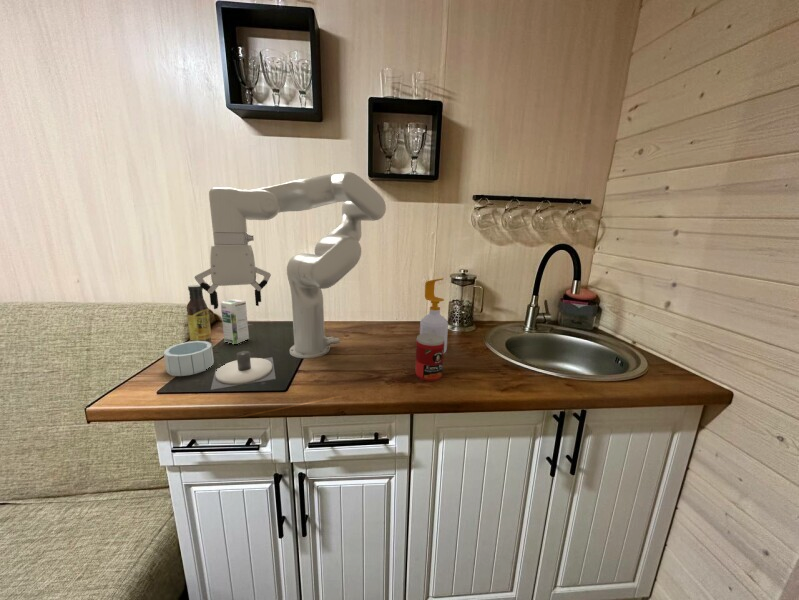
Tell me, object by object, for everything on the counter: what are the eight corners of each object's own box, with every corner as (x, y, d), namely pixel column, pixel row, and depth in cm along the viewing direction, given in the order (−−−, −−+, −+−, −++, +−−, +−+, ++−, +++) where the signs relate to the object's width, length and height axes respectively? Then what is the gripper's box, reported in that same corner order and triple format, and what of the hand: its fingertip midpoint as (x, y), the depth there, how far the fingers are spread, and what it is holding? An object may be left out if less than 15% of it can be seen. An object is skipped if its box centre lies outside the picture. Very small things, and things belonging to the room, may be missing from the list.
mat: (272, 358, 98) (272, 357, 97) (275, 380, 84) (275, 378, 84) (216, 366, 92) (216, 365, 91) (210, 391, 78) (210, 389, 78)
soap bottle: (433, 358, 100) (437, 281, 94) (413, 349, 107) (416, 277, 101) (452, 351, 106) (456, 278, 100) (432, 343, 113) (435, 274, 107)
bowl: (215, 357, 97) (213, 339, 96) (211, 372, 88) (208, 352, 86) (172, 363, 93) (169, 344, 91) (163, 379, 83) (159, 358, 82)
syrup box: (223, 342, 109) (219, 302, 106) (238, 337, 114) (234, 298, 111) (236, 345, 107) (231, 304, 103) (250, 339, 112) (246, 300, 109)
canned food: (424, 384, 84) (426, 345, 81) (409, 371, 91) (411, 335, 88) (448, 378, 87) (450, 340, 85) (432, 366, 94) (434, 331, 92)
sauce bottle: (202, 347, 105) (194, 288, 100) (185, 345, 106) (177, 287, 102) (216, 340, 111) (210, 284, 107) (201, 338, 112) (194, 283, 108)
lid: (270, 358, 97) (269, 341, 96) (273, 378, 84) (272, 359, 83) (218, 365, 91) (216, 347, 90) (213, 388, 79) (210, 367, 77)
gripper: (267, 239, 86) (271, 300, 90) (192, 239, 79) (201, 305, 83) (269, 241, 79) (273, 307, 83) (187, 240, 72) (196, 312, 76)
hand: (237, 306), depth 83 cm, fingers open, 9 cm apart
